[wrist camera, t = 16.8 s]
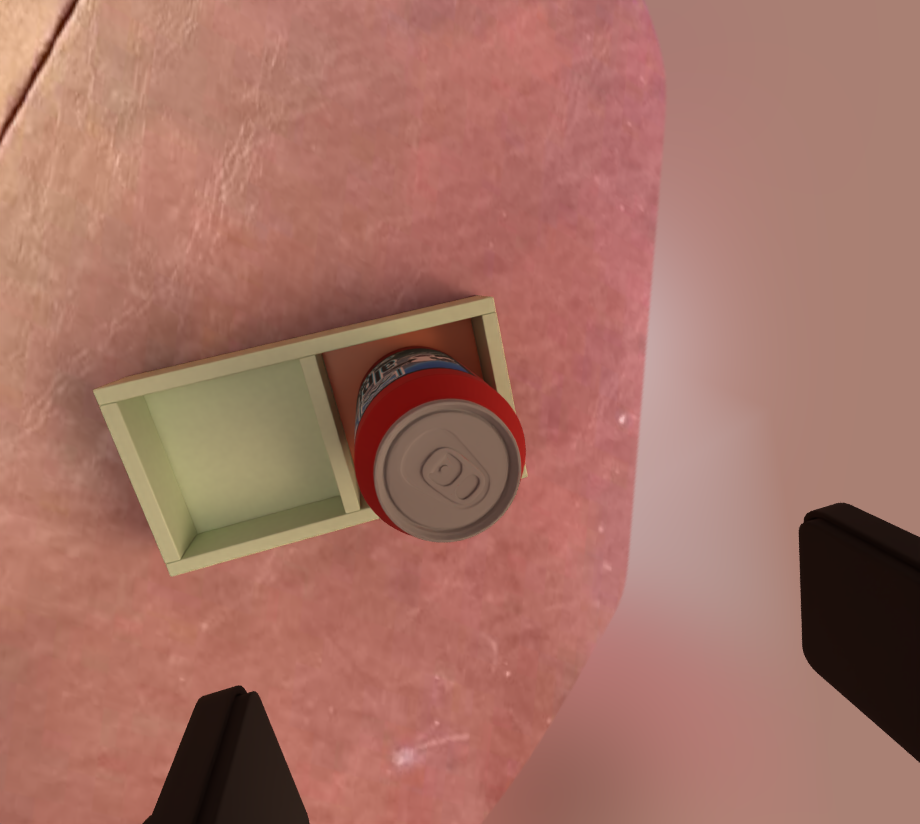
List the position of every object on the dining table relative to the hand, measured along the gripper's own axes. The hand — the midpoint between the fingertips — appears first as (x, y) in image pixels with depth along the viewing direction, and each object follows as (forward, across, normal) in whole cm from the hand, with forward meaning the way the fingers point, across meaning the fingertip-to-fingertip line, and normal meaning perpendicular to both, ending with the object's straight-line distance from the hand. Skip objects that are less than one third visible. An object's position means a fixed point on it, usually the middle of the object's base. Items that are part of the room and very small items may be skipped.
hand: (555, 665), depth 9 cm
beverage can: (+22, 0, +1) cm, 23 cm away
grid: (+23, +5, +1) cm, 24 cm away
